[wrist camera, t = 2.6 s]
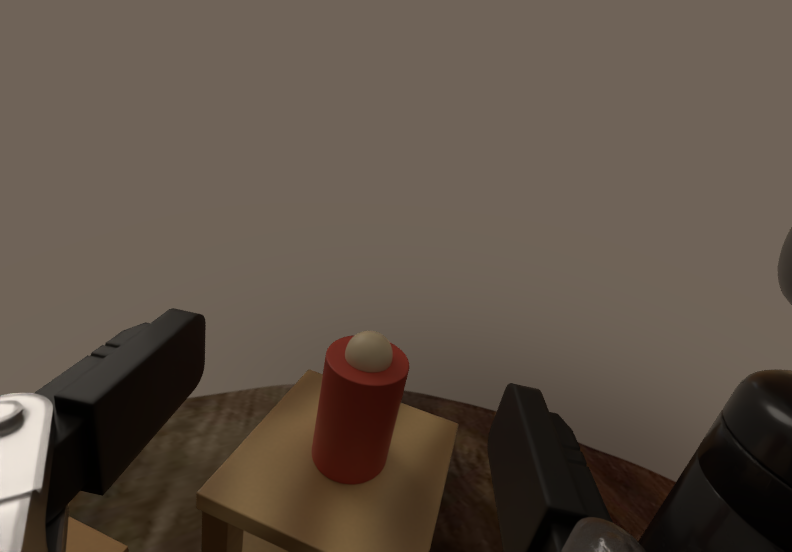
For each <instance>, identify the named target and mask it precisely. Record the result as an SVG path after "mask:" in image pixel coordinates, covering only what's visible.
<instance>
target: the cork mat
mask: <svg viewBox="0 0 792 552" xmlns="http://www.w3.org/2000/svg"><path fill="white" fill-rule="evenodd" d="M66 552H128V546H126V545H124V544H122V543H120V542H118V541H116V540H114V539H112V538H110V537H108V536H106V535H104V534H102V533H100V532H98V531H96V530H95V529H93V528H91V527H89V526H87V525H85V524H83V523H81V522H79V521H77V520H75V519H73V518H71V517H69V519H68V532H67V544H66Z"/></svg>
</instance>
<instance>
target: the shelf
mask: <svg viewBox="0 0 792 552" xmlns="http://www.w3.org/2000/svg"><path fill="white" fill-rule="evenodd" d="M322 377H323V374H320V373H317V372H315V371H312V370H308V371H307V372H306V373H305V374H304V375H303V376H302V377H301V378H300V380H298V382H297V383H296V384H295V385H294V386H293V387H292V388H291V389H290V390H289V392H288V393H287V394H286V395H285V396H284V397H283V398H282V399H281V400H280V401H279V403H278V404H277V405H276V406H275V407H274V408H273V409H272V410H271V411H270V412H269V414H268V415H267V416H266V417H265V418H264V419H263V420H262V421H261V422H260V423H259V425H258V426H257V427H256V428H255V429H254V430H253V431H252V432H251V433H250V434H249V436H248V437H247V438H246V439H245V440H244V441H243V442H242V443H241V444H240V445H239V447H238V448H237V449H236V450H235V451H234V452H233V453H232V454H231V455H230V457H229V458H228V459H227V460H226V461H225V462H224V463H223V464H222V465H221V466H220V468H219V469H218V470H217V471H216V472H215V473H214V474H213V475H212V476H211V477H210V479H209V480H208V481H207V482H206V483H205V484H204V485H203V486H202V487H201V488H200V490H199V491H198V492H197V494H196V508H197V509H199V510H201V511H202V552H430V547H431V543H432V538H433V534H434V530H435V525H436V521H437V517H438V512H439V508H440V503H441V499H442V495H443V490H444V486H445V482H446V477H447V473H448V469H449V464H450V460H451V455H452V451H453V447H454V442H455V438H456V434H457V429H458V424H457V423H454V422H452V421H449V420H446V419H443V418H441V417H438V416H435V415H433V414H430V413H427V412H424V411H422V410H419V409H416V408H413V407H411V406H408V405H405V404H402V403H400V407H399V411H398V415H397V419H396V423H395V427H394V431H393V435H392V439H391V443H390V447H389V452H388V456H387V460H386V463H385V466H384V468H383V470H382V471H381V472H380V473H379V474H378V475H377V476H376V477H375V478H373V479H371V480H370V481H367V482H365V483H360V484H343V483H339V482H336V481H333V480H331V479H329V478H327V477H326V476H325V475H323V474H322V473H321V472H320V471H319V470H318V468H317V467H316V466H315V463H314V461H313V458H312V443H313V436H314V430H315V423H316V417H317V410H318V403H319V397H320V390H321V384H322Z"/></svg>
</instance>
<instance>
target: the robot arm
mask: <svg viewBox="0 0 792 552" xmlns="http://www.w3.org/2000/svg"><path fill="white" fill-rule="evenodd" d="M778 280H779V285H780V288H781V291H782V293H783V295H784V296H785V297H786V298H787V300H788V301H789V302H790V304H791V305H792V228H791V229H790V232H789V233H788V235H787V237H786V239H785V242H784V245H783V247H782V250H781V254H780V258H779V263H778ZM204 362H205V318H204V316H203V315H201V314H197V313H192V312H188V311H183V310H178V309H169V310H168V311H166V312H165V313H164V314H162V315H161V316H160V317H158V318H157V319H156V320H154V321H153V322H152V323H143V324H140V325H137V326H135V327H132V328H129V329H127V330H124V331H122V332H120V333H119V334H118V335H116V336H115V337H114V338H112V339H111V340H109V341H108V342H106V344H105V346H104V345H102V346H100V347H99V348H98V349H96V350H95V351H93V352H92V353H91V355H90V356H86V357H85V358H84V359H82V360H81V361H79V362H78V363H76V364H75V365H73V366H72V367H71V368H69V369H68V370H66V371H65V372H63V373H62V374H61V375H59V376H58V377H56V378H55V379H53V380H52V381H51V382H49V383H48V384H46V385H45V386H43V387H42V388H41V389H39V390H38V391H36V392H35V393H13V394H6V395H1V396H0V552H66V544H67V532H68V519H69V507H68V503H69V502H70V501H71V500H72V499H73V498H74V497H75V496H76V494H77V493H78V492H79V491H84V492H89V493H93V494H98V495H102V496H103V495H104V494H105V492H106V491H107V490H108V489H109V488H110V487H111V485H112V484H113V483H114V482H115V481H116V480H117V478H118V477H119V476H120V475H121V474H122V473H123V472H124V470H125V469H126V468H127V467H128V466H129V465H130V463H131V462H132V461H133V460H134V459H135V458H136V456H137V455H138V454H139V453H140V452H141V451H142V450H143V448H144V447H145V446H146V445H147V444H148V443H149V441H150V440H151V439H152V438H153V437H154V436H155V435H156V433H157V432H158V431H159V430H160V429H161V428H162V426H163V425H164V424H165V423H166V422H167V421H168V419H169V418H170V417H171V416H172V415H173V414H174V413H175V411H176V410H177V409H178V408H179V407H180V406H181V404H182V403H183V402H184V401H185V400H186V399H187V398H188V396H189V395H190V394H191V393H192V392H193V391H194V389H195V388H196V387H197V385H198V383H199V382H200V379H201V377H202V374H203V371H204V364H205V363H204ZM488 457H489V463H490V469H491V476H492V482H493V488H494V494H495V501H496V507H497V513H498V520H499V526H500V532H501V538H502V545H503V551H504V552H792V371H791V370H764V371H759V372H755V373H753V374H750V375H749V376H748V377H746V378H745V379H744V380H742V381H741V382H740V384H739V385H738V386H737V388H736V389H735V391H734V392H733V394H732V396H731V397H730V398H729V400H728V402H727V403H726V405H725V406H724V408H723V410H722V411H721V412H720V414H719V416H718V417H717V419H716V420H715V422H714V423H713V425H712V427H711V428H710V430H709V431H708V433H707V434H706V436H705V437H704V439H703V441H702V442H701V444H700V446H699V447H698V449H697V450H696V452H695V454H694V455H693V457H692V458H691V460H690V461H689V463H688V464H687V466H686V468H685V469H684V471H683V472H682V474H681V476H680V477H679V478H678V480H677V482H676V483H675V485H674V486H673V488H672V489H671V491H670V493H669V494H668V496H667V497H666V499H665V500H664V502H663V504H662V505H661V507H660V508H659V510H658V511H657V513H656V515H655V516H654V518H653V519H652V521H651V522H650V524H649V525H648V527H647V529H646V530H645V532H644V533H643V535H642V536H641V538H640V540H639V541H637V540H636V539H635V538H633V537H632V536H631V535H630V534H629V533H628V532H626V531H625V530H624V529H622V528H620V527H619V526H617V525H615V524H614V523H613V522H612V520H611V518H610V515H609V513H608V511H607V509H606V506H605V504H604V502H603V499H602V497H601V495H600V493H599V490H598V488H597V486H596V483H595V481H594V479H593V476H592V474H591V472H590V470H589V467H586V460H585V458H584V456H583V454H582V452H580V447H579V444H578V442H577V440H576V438H575V435H574V434H573V431H572V430H571V428H570V427H569V426H568V425H567V424H566V423H565V422H564V420H563V419H562V418H561V417H560V416H559V415H558V414H556V413H551V412H549V411H548V408H547V405H546V403H545V400H544V398H543V395H542V393H541V391H540V390H539V389H535V388H531V387H526V386H521V385H517V384H512V383H510V384H508V385H507V387H506V389H505V391H504V394H503V397H502V400H501V402H500V405H499V407H498V410H497V413H496V416H495V418H494V421H493V424H492V426H491V429H490V433H489V439H488Z"/></svg>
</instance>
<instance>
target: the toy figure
mask: <svg viewBox="0 0 792 552" xmlns="http://www.w3.org/2000/svg"><path fill="white" fill-rule="evenodd" d="M408 371H409V362H408V359H407V357H406V355H405V354H404V353H403V352H402V350H400V349H399V348H398V347H397V346H395V345H394V344H392V343H390V342H389V341H388V340H387V338H386V337H385V336H383V335H382V334H380V333H378V332H375V331H363V332H360V333H358V334H356V335H354V336H347V337H343V338H341V339H338V340H336V341H335V342H333V343H332V344H331V345H330V346H329V348H328V349H327V352H326V357H325V364H324V371H323V377H322V384H321V390H320V397H319V403H318V410H317V417H316V423H315V430H314V436H313V443H312V458H313V461H314V463H315V466H316V467H317V468H318V470H319V471H320V472H321V473H322V474H323V475H325V476H326V477H327V478H329V479H331V480H333V481H336V482H339V483H343V484H360V483H365V482H367V481H370V480H371V479H373V478H375V477H376V476H377V475H378V474H379V473H380V472H381V471H382V470H383V468H384V466H385V463H386V460H387V456H388V452H389V447H390V443H391V439H392V435H393V431H394V427H395V423H396V419H397V415H398V411H399V407H400V403H401V399H402V395H403V391H404V387H405V383H406V379H407V375H408Z"/></svg>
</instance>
